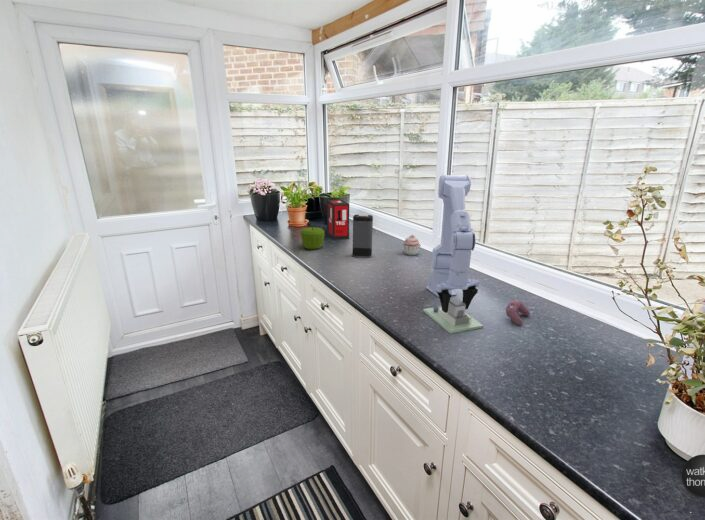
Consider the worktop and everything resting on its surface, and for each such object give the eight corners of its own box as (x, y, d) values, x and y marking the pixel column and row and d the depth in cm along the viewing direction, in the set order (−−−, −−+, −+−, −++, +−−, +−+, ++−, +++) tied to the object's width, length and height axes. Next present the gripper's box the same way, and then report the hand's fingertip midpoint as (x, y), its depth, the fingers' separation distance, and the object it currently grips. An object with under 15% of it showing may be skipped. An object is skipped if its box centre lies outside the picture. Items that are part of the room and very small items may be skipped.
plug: (445, 315, 121) (447, 299, 119) (454, 314, 122) (456, 297, 121) (455, 323, 116) (457, 306, 114) (464, 322, 117) (467, 304, 116)
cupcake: (400, 255, 185) (401, 236, 182) (402, 250, 194) (403, 231, 191) (419, 257, 183) (421, 237, 180) (421, 252, 192) (422, 233, 189)
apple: (323, 251, 190) (323, 230, 186) (299, 251, 190) (298, 229, 186) (325, 244, 201) (325, 224, 198) (303, 244, 202) (302, 224, 198)
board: (423, 311, 126) (423, 303, 125) (453, 306, 130) (454, 299, 129) (449, 333, 112) (450, 325, 111) (483, 327, 116) (484, 319, 115)
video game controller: (517, 316, 127) (510, 297, 127) (531, 315, 124) (524, 295, 124) (508, 327, 119) (501, 307, 119) (522, 325, 116) (515, 304, 116)
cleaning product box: (348, 238, 215) (349, 204, 208) (333, 239, 212) (333, 204, 206) (341, 232, 230) (341, 199, 223) (327, 232, 227) (326, 200, 221)
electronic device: (371, 254, 186) (373, 214, 180) (371, 258, 181) (372, 217, 175) (353, 253, 187) (353, 214, 181) (352, 257, 182) (352, 216, 175)
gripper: (446, 276, 109) (442, 318, 113) (487, 271, 113) (481, 311, 118) (433, 268, 115) (430, 308, 119) (473, 264, 120) (468, 302, 124)
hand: (454, 309), depth 119 cm, fingers open, 7 cm apart
